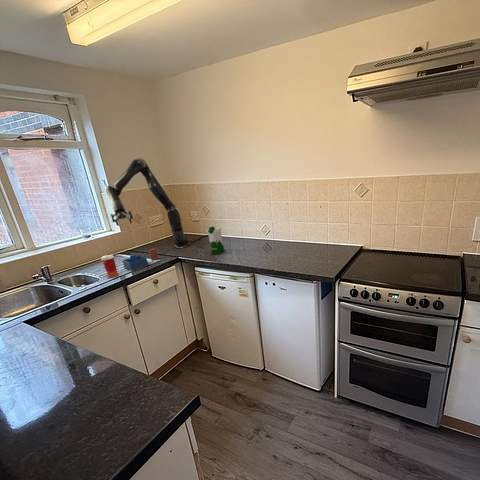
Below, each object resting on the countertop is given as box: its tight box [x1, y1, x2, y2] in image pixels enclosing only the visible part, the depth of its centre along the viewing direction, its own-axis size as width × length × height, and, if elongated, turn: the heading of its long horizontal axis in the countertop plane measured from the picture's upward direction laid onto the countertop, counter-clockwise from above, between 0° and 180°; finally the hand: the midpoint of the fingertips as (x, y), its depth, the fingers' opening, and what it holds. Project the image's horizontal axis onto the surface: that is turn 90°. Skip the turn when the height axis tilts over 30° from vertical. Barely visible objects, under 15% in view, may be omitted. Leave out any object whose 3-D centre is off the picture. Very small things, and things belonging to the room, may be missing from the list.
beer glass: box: [100, 254, 119, 278], centre depth 197 cm, size 8×8×14 cm
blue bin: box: [122, 255, 149, 271], centre depth 213 cm, size 12×12×6 cm
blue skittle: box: [129, 253, 138, 262], centre depth 213 cm, size 4×4×8 cm
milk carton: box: [206, 226, 226, 255], centre depth 220 cm, size 9×9×20 cm
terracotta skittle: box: [149, 248, 158, 261], centre depth 224 cm, size 4×4×8 cm
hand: (124, 224), depth 224 cm, fingers open, 8 cm apart
